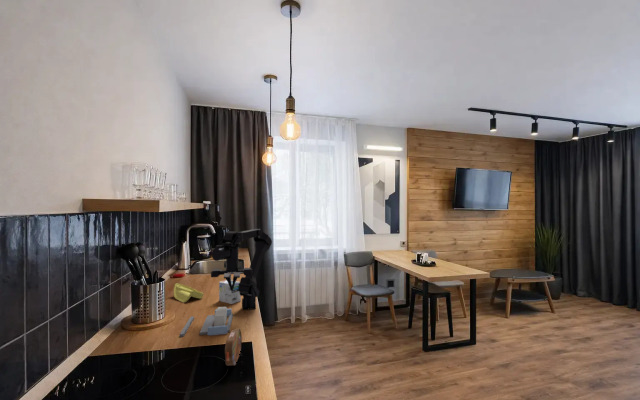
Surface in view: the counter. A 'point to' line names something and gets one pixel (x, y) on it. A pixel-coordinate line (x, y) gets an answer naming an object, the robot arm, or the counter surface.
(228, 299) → the light bulb box
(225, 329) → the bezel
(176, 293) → the plastic component
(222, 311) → the white rectangular prism
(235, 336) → the tin
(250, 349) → the counter surface
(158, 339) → the counter surface
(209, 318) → the grey long bars
